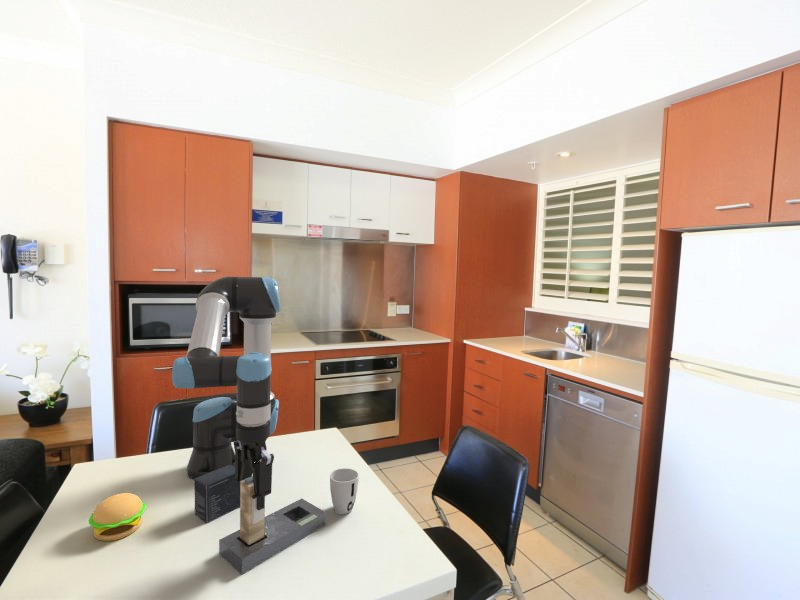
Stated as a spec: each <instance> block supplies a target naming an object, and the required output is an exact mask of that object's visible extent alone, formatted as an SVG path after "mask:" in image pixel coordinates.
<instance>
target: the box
mask: <svg viewBox="0 0 800 600" xmlns="http://www.w3.org/2000/svg"><path fill="white" fill-rule="evenodd" d="M193 480H194V481H193V482H194V483H193V486H194V516H196V517H197V518H198V519H199V520H201V521H203V522H204V523H206V524H208V523H211V522H212V521H214V520H216V519H218V518H221V517H222V516H225V515H226V514H228V513H230V512H232V511H234V510H236V509H238V508H240V485H239V482H236V480H235V467H233V466H230V465H227V466H225V467H222V468H220V469H217V470H215V471H212V472H210V473H207V474H205V475H202V476H200V477H197V478H195V479H193Z"/></svg>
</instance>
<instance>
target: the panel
mask: <svg viewBox="0 0 800 600" xmlns="http://www.w3.org/2000/svg"><path fill="white" fill-rule="evenodd" d="M326 515H327V514H326V511H324V510H323V509H321V508H320V507H318V506H316V505H314V504H313V503H311V502H309V501H308V500H305V499H304V498H300V499H298V500H296V501H293V502H292V503H289V504H288V505H286V506H283V507H282V508H280V509H278V510H275V511H274V512H272V513H270V514H268V515H265V527H264V537H263V538H262V539H260V540H258V541H256V542H255V544H254V543H253V545H251V546H250V545H248V544H247V543H246V542H244V541H243V540H242V539H241V538H240V529H238V530H236V531H234V532H232V533H230V534H228V535H226V536H223V537H222V538H219V542H218V554H219V556H220V557H222V558H223V559H224V560H225V561H226V562H227V563H229V565H231V566H232V567H233V568H234V569H235V570H236V571H237V572H238V573H240V574H241V575H244V574H245V573H247V572H249V571H250V570H253V569H254V568H255V567H257V566H259V565H261V564H262V563H264V562H265V561H267V560H269V559H270V558H272V557H274V556H275V555H277V554H279V553H281V552H282V551H285V549H287V548H289V547H290V546H292V545H295V544H296V543H298V542H299V541H301V540H302V539H304V538H305V537H308V536H309V535H311V534H313V533H314V532H315V531H318V530H319V529H321V528H323V527H325V526H326V518H327V517H326ZM298 519H299V520H298Z"/></svg>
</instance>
